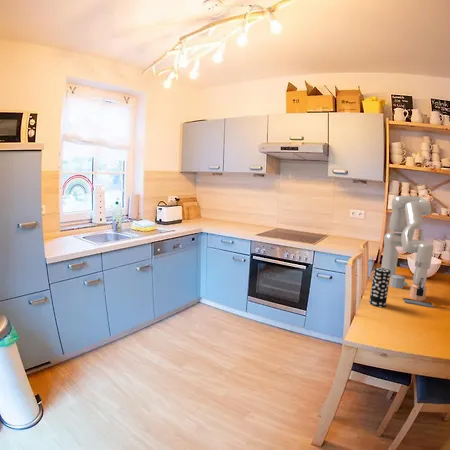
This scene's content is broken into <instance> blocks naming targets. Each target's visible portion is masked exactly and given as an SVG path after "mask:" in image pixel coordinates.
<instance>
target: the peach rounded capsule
mask: <svg viewBox="0 0 450 450" xmlns="http://www.w3.org/2000/svg"><path fill="white" fill-rule="evenodd" d="M419 287H420V285H419ZM417 288H418V284H414V283H411V285H410V290H409V295H408V296H409V298H410V299H412V300H415V301H420V302H423V301H426V296H427V295H426V294H427V291H428V290H427V286H426V285H424V291H423V296H417V295H416V292H417Z"/></svg>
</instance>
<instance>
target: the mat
mask: <svg viewBox="0 0 450 450" xmlns="http://www.w3.org/2000/svg"><path fill="white" fill-rule="evenodd" d="M402 299H403V301H404V304H409V305H415V306H419V307H426V308H431V309H433V308H434V304H433V303H432V302H430V301H426V300H422V301H423V302H420V301H421V300H419V301H415V299H413V300H412V298H406V297H403V298H402Z"/></svg>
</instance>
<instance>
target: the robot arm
mask: <svg viewBox="0 0 450 450" xmlns="http://www.w3.org/2000/svg"><path fill="white" fill-rule="evenodd" d="M431 212H432V206H431V204H430V203H429V201H427V200H426V199H425V198H423V197H421V196H414V195H413V196H409V195H397V196H396V195H395V196H394V197H393V198H392V200H391V216H390V220H389V224H388V225H389V226H388V229H389V230H390V231H391V232H387V233H385V234H384V236H383V252H382V258H381V259H382V260H381V266H380V268H385V269H388V270H390V271H391V273H390V278H391V275H397V274H396V273H397V267H398V266H397V264H398V260H399V259H398V258H399V251H398V249H397V247H399V248H402V249H403V251H404V252H407V253H415V254H416V255H415V256H416V257H415V262H414V267H415V268H414V272H413V278H412V281H413V284H418V288H417V292H416V295H417V296H423V291H424V286H426V283H427V276H428V270H429V269H431V263H432V257H433V252H434V246H433V244H430V243H429V242H428V241H426V240H421V239H420V240H419V239H413V238H414V235H415V231H416V230H417V229H420V228H421V227H423V225H424V220H423V216H424V217H425V216H430V214H431ZM419 285H420V287H419Z"/></svg>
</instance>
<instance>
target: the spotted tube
mask: <svg viewBox="0 0 450 450" xmlns="http://www.w3.org/2000/svg"><path fill="white" fill-rule="evenodd" d="M390 273H391V271H390V270H388V269H385V268H381V267H373V273H372V281H371V289H370V295H369V300H368V302H369V304H370V305H372V306H374V307H378V308H385V307H386V305H387V298H388V292H389V286H390V281H391V277H390Z"/></svg>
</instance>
